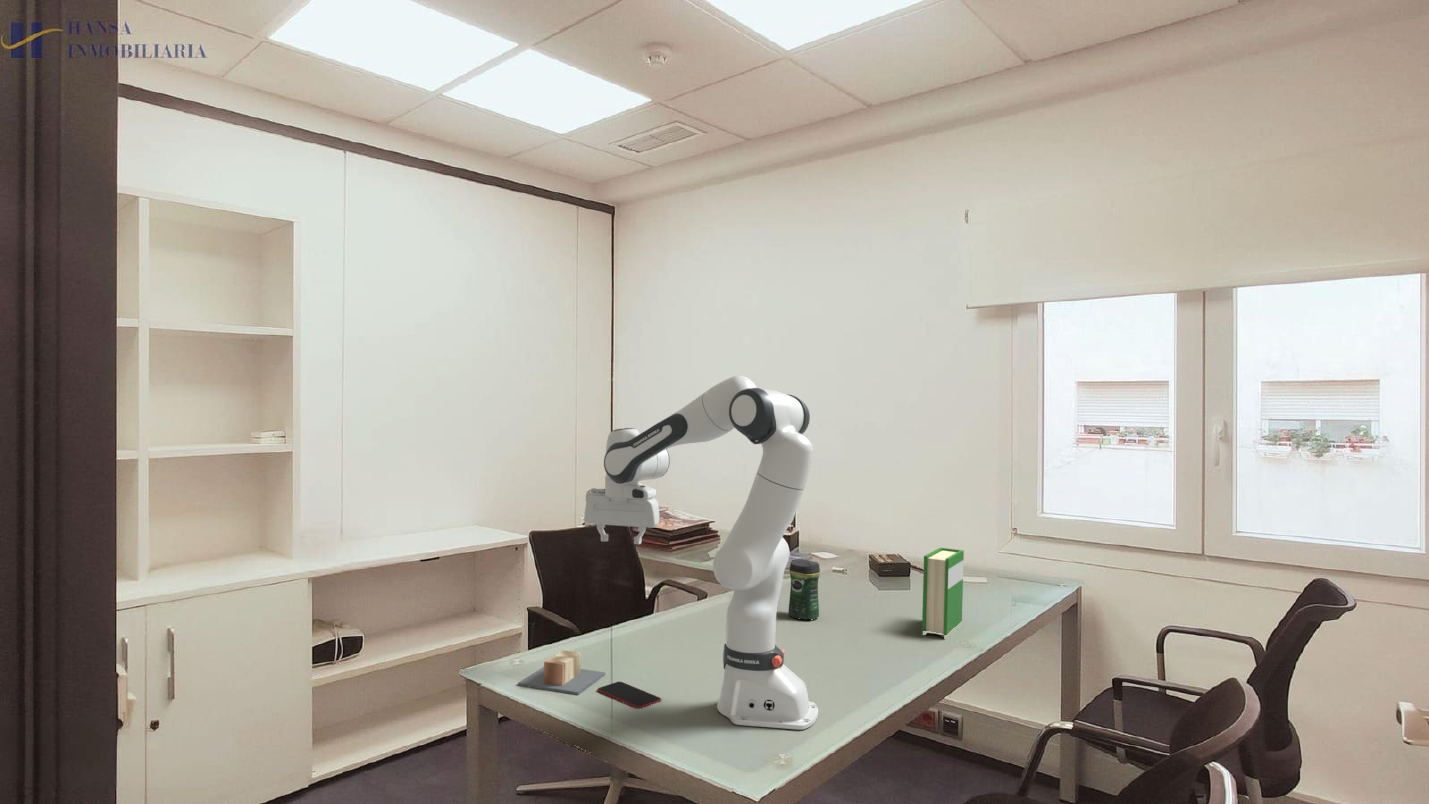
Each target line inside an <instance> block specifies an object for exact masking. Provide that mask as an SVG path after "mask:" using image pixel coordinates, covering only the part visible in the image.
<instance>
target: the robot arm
mask: <svg viewBox="0 0 1429 804" xmlns="http://www.w3.org/2000/svg"><path fill="white" fill-rule="evenodd" d="M810 415H811V414H810V410H809V408H808V406H807V404H806V403H805V402H804V401H803V400H802V399H800V398H799V397H798V396H797V397H796V396H795V395H792V394H790V393H789V394H788V393H787V394H786V393H783V392H780V391H779V390H776V389H767V388H759V387H757V385H756V384H755V383H754V381H752V380H751V379H750V378H748V377H746V376H744V375H741V374H740V375H733V376H732V377H729V378H726V379H725V380H723V381H721V382H719V383H717V384H715V385H713V386H712V387H710V388H709V389H708V390H705V392H703V393H702V394H701V395H699V396H698V397H696V398H695V399H694V400H692V401H691V402H689V403H688V404H686V405H685V406H684V407H682V408H681V409H679V410H677V411H676V412H674V413H672V414H671V415H669V416H668V417H666V418H664V419H662V420H660V421H659V422H657V423H655V424H654V425H653V426H651V427H649V428H647V429H646V430H644V431H642V432H641V433H640V432H639V431H640V430H638V429H636V428H633V427H624V428H617V429H614V430H611V431H610V432H609V434H608V435H607V440H606V444H605V445H606V447H605V455H604V459H603V468H604V471H605V473H606V474H605V476H604V477H605V480H604V481H605V482H604V488H596V487H594V488H592V487H591V488H590V489H589V490H587V491H586V494H585V507H584V508H585V509H584V516H583V517H584V518H583V519H584V521H585V523H586V524H590V525H591V524H592V525H596V530H597V531H598V533H599V535H600V541H601V542H604V543H605V542H609V533H606V531H605V529H604V528H606V526H617V527H618V526H621V527H635V528H636V527H637V532H638V534H637V535H636V536H634V537H633V540H634V541H633V544H634V545H642V539H643V538H642V537H643V536H644V534H645V532H646V531H647V528H648V529H651V528H652V529H653V528H655V527H657V526H658V525H659V523H660V508H659V507H660V505H659V501H658V500H657V498H655V497H656V496H657V489H655V488H653V487H650V486H649V485H646V484H643V483H641V482H642V481H647V480H656V479H660V478H662V477H663V476H665V475H666V474H667V472H668V470H669V468H670V460H671V459H670V454H669V451H668V450H667V449H670V448H672V447H676V446H680V445H685V444H686V445H687V444H696V443H707V442H710V441H713V440H717V439H718V438H720V437H723V436H725V435H726V434H728V433H730V432H731V431H732V430H733V429H735V430H737V432H739V433H741V434H742V435H743V436H744V437H746V438H747V439H748V441H750V442H751V443H752V444H753V445H760V444H761V447H762V455H761V460H760V461H759V465H758V469H757V471H756V474H755V477H754V478H753V479H754V480H753V482H752V485H751V488H750V490H749V491H750V492H749V494H748V496H747V499H746V502H745V504H744V506H743V508H742V510H741V513H740V514H739V516H738V518H737V519H736V521H735V522H734V524H733V526H732V527H731V530H730V532H729V533H728V536H727V538H726V540H725V541H724V543H723V544H722V546H721V547H720V548H719V550H718V551H717V552H716V553H715V555H714V557H713V560H712V561H713V562H712V571H713V574H714V577H715V579H716V580H717V582H718V583H719V584H720V585H721V586H722V587H724V588H726V589H727V590H728V589H729V590H732V591H733V590H734V591H733V594H732V598H731V599H730V602H729V604H728V606H727V611H726V629H725V630H726V631H725V632H726V635H725V637H726V638H725V643H724V645H723V653H722V655H723V656H722V665H723V670H724V671H723V679H722V680H723V681H722V685H721V691H720V695H719V699H718V702H717V705H716V708H717V711H718V712H719V713H720V714H722V715H723V716H725V717H727V718H728V719H729V720H730V721H731V722H732V724H734V725H737V726H745V727H746V726H748V727H761V728H771V729H772V728H773V729H784V730H785V729H786V730H787V729H788V730H799V731H801V730H805V729H808V728H811V726H813V725H814V724H815V723H816V721H817V720H818V717H819V708H818V705H817V704H816V703H815V702H813V701H810V699H809V694H808V688H807V686H806V683H805V682H804V680H802V679H801V678H800V677H799V676H798V675H796V674H795V673H794V672H793V670H790V669H789V668H788V666H787V665H785V664H784V661H785V658H784V657H785V656H784V655H785V648H783V649H782V650H781V649H780V648H779V646H777V645H776V630H777V629H776V628H777V614H778V613H777V610H778V605H779V604H778V603H779V599H780V594H781V590H782V585H783V580H784V576H785V574H784V573H785V571H786V567H787V565H788V562H789V560H790V556H791V555H790V553H791V551H790V548H789V544H788V542H787V541H786V539H785V538H784V535H785V533H786V531H787V530H788V528H789V527H790V525H792V523H793V521H794V518H795V516H796V513H797V510H798V507H799V504H800V502H801V498H802V496H803V494H804V491H805V488H806V484H807V482H808V478H809V473H810V471H811V470H810V469H811V466H812V460H813V453H814V449H813V444H812V442H811V440H809V438H808V437H806V436H805V434H804V433H805V432H806V430H807V429H808V427H809V424H810V420H811V418H810ZM803 434H804V435H803ZM640 481H641V482H640ZM816 719H817V720H816Z"/></svg>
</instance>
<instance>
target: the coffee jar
mask: <svg viewBox="0 0 1429 804" xmlns="http://www.w3.org/2000/svg"><path fill="white" fill-rule="evenodd" d="M820 573H821V569H820V564H819V563H818V562H817V561H813V560H809V559H803V558H797V559H792V560H791V561H790V564H789V576H790V592H789V599H788V600H789V601H788V613H787V614H788V615H790V617H791V616H793V617H792V618H794V617H796V618H795V619H797V618H800V619H799V620H801V619H814V618H817V617H818V618H819V617H820V605H819V604H820V603H819V577H820V575H821V574H820ZM818 618H817V619H818Z"/></svg>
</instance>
